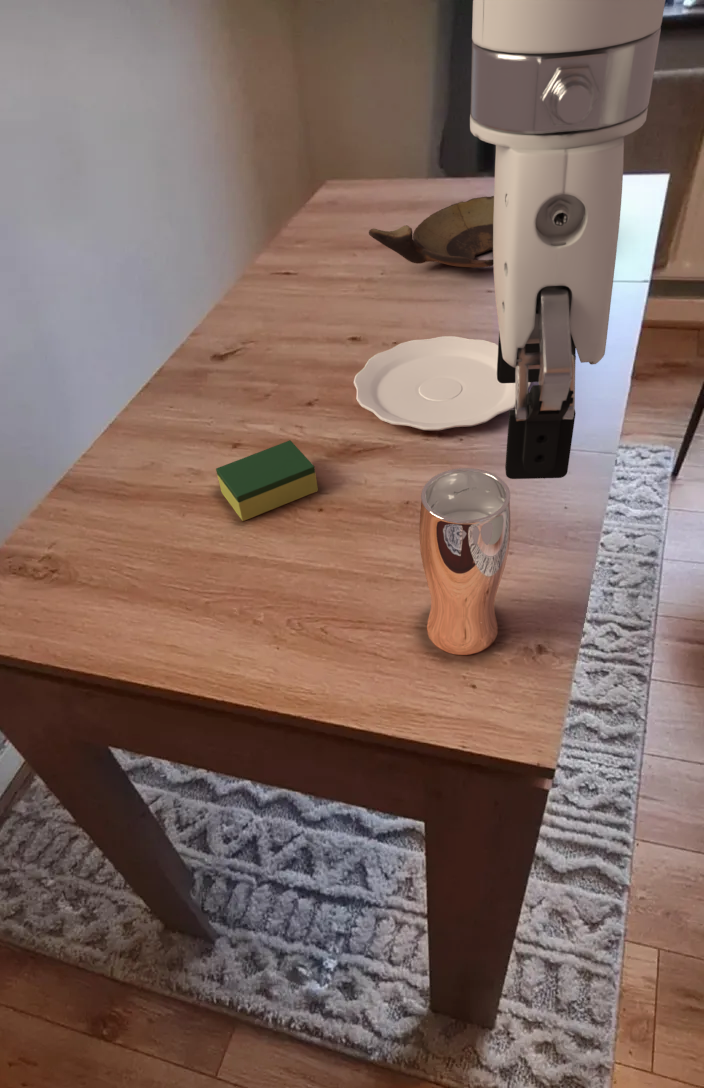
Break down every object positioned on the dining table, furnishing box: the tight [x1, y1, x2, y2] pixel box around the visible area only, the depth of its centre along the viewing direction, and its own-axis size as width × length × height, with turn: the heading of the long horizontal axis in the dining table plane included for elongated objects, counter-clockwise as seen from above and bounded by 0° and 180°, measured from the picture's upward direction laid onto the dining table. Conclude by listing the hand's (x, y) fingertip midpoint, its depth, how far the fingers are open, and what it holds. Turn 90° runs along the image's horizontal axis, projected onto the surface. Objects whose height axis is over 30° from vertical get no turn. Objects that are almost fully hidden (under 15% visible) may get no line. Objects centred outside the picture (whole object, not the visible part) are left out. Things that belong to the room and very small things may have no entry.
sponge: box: [215, 439, 319, 522], centre depth 86 cm, size 9×6×3 cm, turn 117°
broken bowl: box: [368, 195, 494, 268], centre depth 121 cm, size 22×30×8 cm
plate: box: [353, 335, 531, 431], centre depth 97 cm, size 21×21×2 cm
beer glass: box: [418, 467, 511, 656], centre depth 65 cm, size 7×7×15 cm
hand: (528, 424), depth 46 cm, fingers open, 9 cm apart
